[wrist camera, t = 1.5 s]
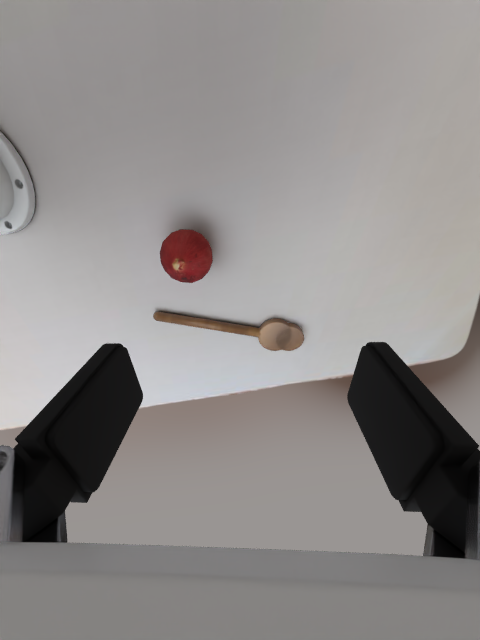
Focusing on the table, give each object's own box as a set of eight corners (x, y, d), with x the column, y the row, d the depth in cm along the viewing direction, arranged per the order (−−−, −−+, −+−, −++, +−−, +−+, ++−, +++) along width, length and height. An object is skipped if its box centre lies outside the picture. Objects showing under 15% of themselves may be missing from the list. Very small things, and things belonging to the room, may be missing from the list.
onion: (216, 272, 30) (206, 296, 23) (174, 270, 30) (151, 293, 24) (216, 226, 27) (204, 238, 21) (169, 223, 27) (142, 235, 21)
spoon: (155, 327, 35) (152, 332, 34) (154, 297, 33) (151, 301, 31) (296, 350, 36) (298, 355, 35) (307, 323, 34) (309, 328, 33)
